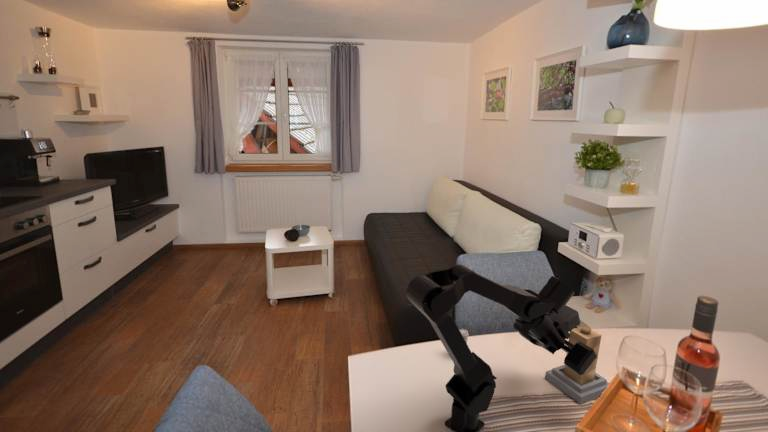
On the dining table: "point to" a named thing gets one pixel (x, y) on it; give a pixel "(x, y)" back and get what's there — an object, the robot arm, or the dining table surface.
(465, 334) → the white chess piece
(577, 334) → the oak brick column
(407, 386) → the dining table surface
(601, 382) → the base plate
